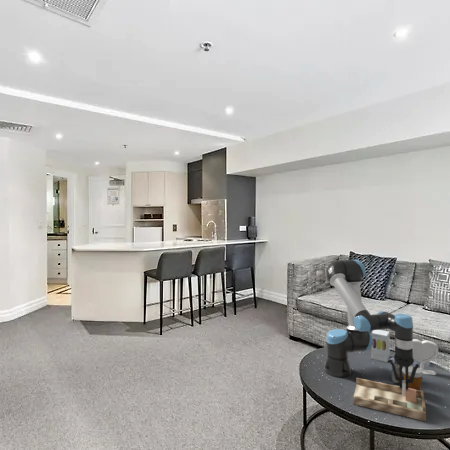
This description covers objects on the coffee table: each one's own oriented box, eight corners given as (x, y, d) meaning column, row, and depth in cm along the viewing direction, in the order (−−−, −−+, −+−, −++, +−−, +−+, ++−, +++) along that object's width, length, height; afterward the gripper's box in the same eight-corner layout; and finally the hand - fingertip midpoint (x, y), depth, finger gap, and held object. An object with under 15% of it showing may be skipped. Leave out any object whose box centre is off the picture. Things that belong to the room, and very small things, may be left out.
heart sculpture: (407, 370, 186) (407, 340, 185) (406, 367, 190) (406, 337, 190) (438, 375, 179) (438, 344, 179) (437, 371, 184) (436, 340, 184)
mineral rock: (415, 378, 177) (415, 360, 177) (419, 388, 167) (419, 369, 167) (389, 374, 182) (389, 357, 182) (391, 384, 172) (391, 365, 172)
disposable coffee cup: (423, 399, 157) (423, 375, 157) (401, 394, 162) (401, 370, 162) (423, 390, 165) (423, 367, 165) (402, 385, 170) (402, 363, 170)
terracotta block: (405, 400, 152) (405, 391, 152) (405, 395, 156) (405, 387, 156) (416, 403, 150) (416, 393, 150) (415, 398, 154) (415, 389, 154)
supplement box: (371, 358, 202) (370, 332, 202) (373, 353, 210) (373, 328, 209) (387, 362, 197) (387, 335, 196) (390, 357, 204) (389, 331, 204)
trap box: (353, 403, 155) (353, 392, 155) (356, 387, 169) (356, 377, 169) (425, 421, 141) (425, 409, 141) (423, 402, 155) (422, 391, 155)
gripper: (388, 347, 154) (388, 395, 154) (419, 352, 148) (420, 402, 148) (388, 342, 160) (389, 388, 161) (418, 346, 154) (418, 394, 155)
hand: (403, 394), depth 155 cm, fingers closed
